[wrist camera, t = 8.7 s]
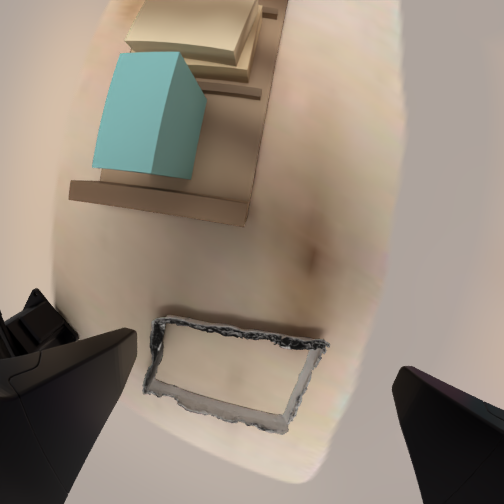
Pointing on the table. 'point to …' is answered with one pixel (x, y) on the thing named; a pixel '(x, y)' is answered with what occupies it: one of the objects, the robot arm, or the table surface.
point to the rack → (208, 147)
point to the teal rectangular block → (151, 116)
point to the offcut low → (226, 71)
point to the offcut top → (194, 28)
